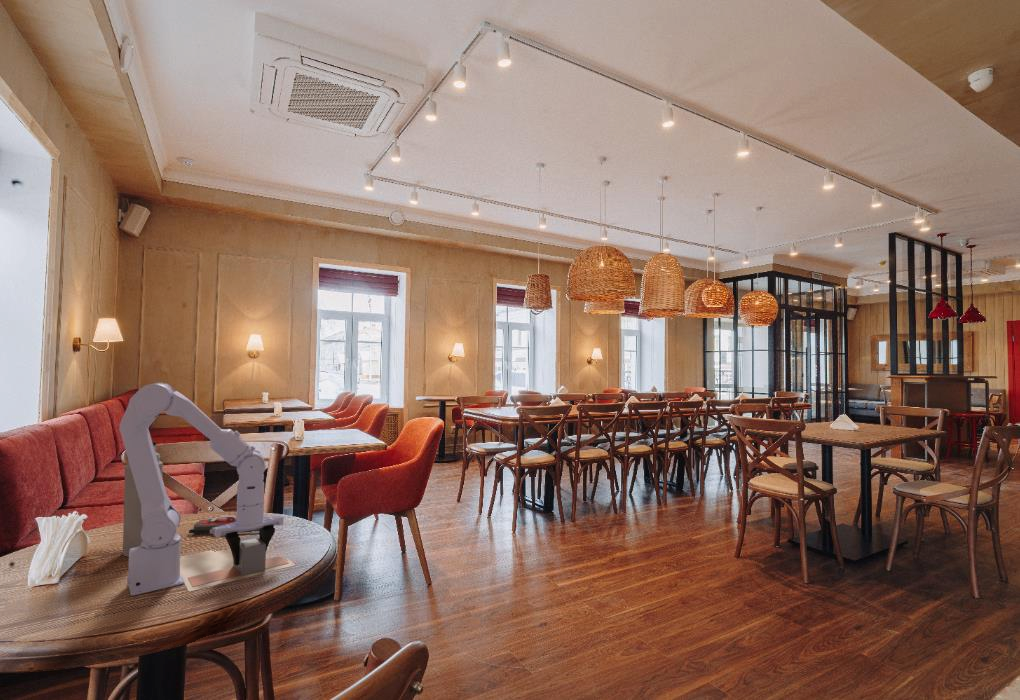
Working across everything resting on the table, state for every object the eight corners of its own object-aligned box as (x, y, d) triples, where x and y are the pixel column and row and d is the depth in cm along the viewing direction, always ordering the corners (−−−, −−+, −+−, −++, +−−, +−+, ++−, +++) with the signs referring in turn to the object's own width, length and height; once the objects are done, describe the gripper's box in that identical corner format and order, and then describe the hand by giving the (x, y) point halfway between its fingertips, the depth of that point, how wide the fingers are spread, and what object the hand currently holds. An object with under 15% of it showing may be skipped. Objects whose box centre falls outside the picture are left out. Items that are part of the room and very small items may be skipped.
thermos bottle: (127, 548, 132) (129, 440, 133) (163, 543, 136) (165, 438, 137) (118, 558, 125) (121, 445, 126) (157, 553, 129) (160, 443, 129)
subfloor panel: (188, 592, 107) (188, 591, 107) (171, 558, 126) (171, 557, 126) (295, 565, 122) (295, 564, 122) (266, 538, 140) (266, 538, 140)
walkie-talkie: (184, 539, 140) (261, 535, 144) (184, 523, 141) (261, 520, 144) (198, 529, 149) (270, 525, 152) (198, 513, 149) (270, 511, 152)
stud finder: (241, 576, 115) (242, 548, 115) (233, 565, 121) (233, 539, 121) (265, 570, 118) (265, 543, 119) (255, 560, 124) (256, 534, 125)
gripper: (277, 494, 128) (276, 548, 128) (212, 505, 118) (210, 563, 118) (286, 500, 123) (285, 557, 122) (218, 511, 113) (217, 573, 113)
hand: (249, 561), depth 120 cm, fingers closed on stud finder, 5 cm apart
